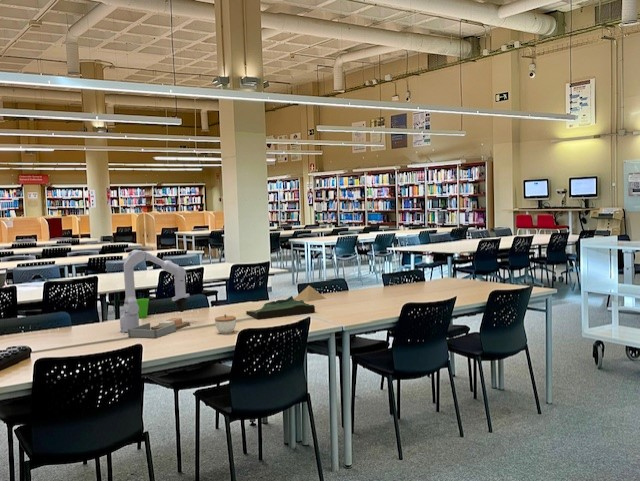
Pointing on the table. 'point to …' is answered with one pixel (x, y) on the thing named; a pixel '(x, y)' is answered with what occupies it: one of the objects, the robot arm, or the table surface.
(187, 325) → the walnut board
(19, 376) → the table surface
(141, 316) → the cup
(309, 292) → the model pyramid
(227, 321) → the lidded jar
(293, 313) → the topographic model
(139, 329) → the grey box
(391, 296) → the table surface
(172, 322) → the cream tile
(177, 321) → the terracotta tile
